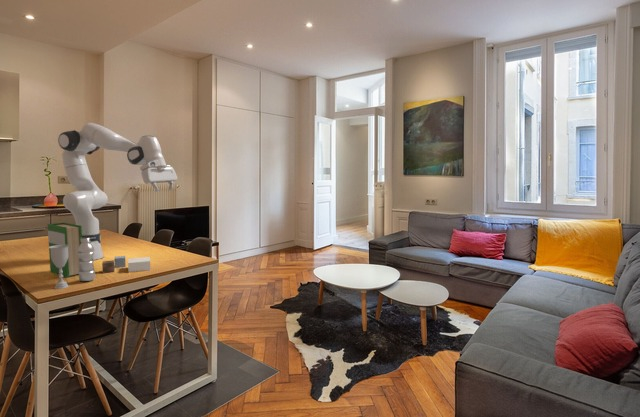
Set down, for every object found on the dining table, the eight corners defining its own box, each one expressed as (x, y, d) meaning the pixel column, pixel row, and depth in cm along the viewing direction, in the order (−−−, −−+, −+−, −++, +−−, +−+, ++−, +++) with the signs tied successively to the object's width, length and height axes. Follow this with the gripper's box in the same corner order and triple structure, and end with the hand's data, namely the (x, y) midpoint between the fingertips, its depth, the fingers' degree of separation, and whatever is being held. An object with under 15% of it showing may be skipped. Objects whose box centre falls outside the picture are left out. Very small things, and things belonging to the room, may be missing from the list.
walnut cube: (102, 273, 182) (102, 263, 182) (103, 270, 186) (102, 261, 186) (114, 272, 184) (113, 262, 184) (114, 269, 189) (114, 260, 188)
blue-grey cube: (114, 268, 192) (114, 258, 192) (115, 265, 197) (114, 256, 196) (125, 266, 195) (125, 257, 194) (125, 264, 199) (125, 255, 199)
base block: (128, 272, 184) (128, 263, 184) (129, 268, 193) (128, 258, 193) (150, 270, 189) (150, 261, 188) (150, 266, 198) (149, 256, 197)
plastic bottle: (83, 278, 172) (81, 236, 170) (98, 278, 173) (96, 236, 171) (75, 283, 166) (73, 239, 164) (91, 282, 166) (89, 239, 164)
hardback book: (84, 274, 180) (81, 225, 177) (67, 277, 174) (64, 227, 171) (67, 268, 189) (64, 222, 187) (50, 272, 183) (47, 224, 181)
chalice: (67, 283, 165) (65, 244, 163) (74, 286, 161) (72, 245, 159) (48, 287, 159) (45, 246, 157) (55, 290, 155) (52, 248, 153)
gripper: (167, 166, 204) (175, 190, 204) (136, 167, 185) (145, 193, 185) (175, 163, 202) (183, 187, 202) (145, 163, 183) (154, 190, 183)
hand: (164, 190), depth 193 cm, fingers open, 8 cm apart
